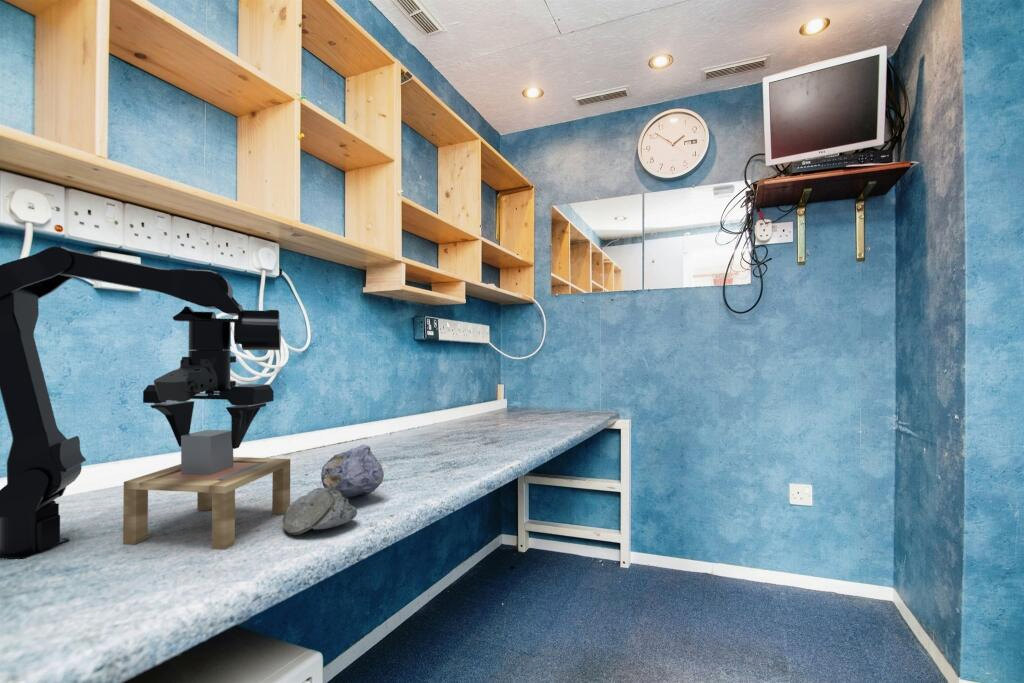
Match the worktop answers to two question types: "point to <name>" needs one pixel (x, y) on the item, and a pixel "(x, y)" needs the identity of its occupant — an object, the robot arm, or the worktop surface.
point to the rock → (353, 472)
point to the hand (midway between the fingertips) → (209, 447)
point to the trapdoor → (219, 476)
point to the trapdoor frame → (204, 497)
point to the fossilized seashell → (318, 511)
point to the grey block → (206, 452)
